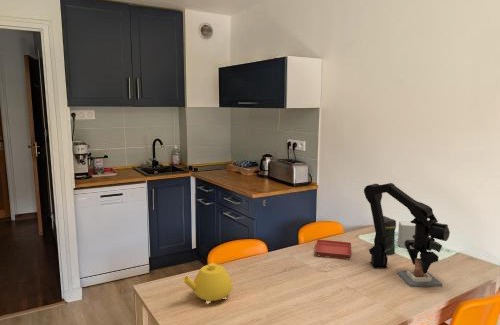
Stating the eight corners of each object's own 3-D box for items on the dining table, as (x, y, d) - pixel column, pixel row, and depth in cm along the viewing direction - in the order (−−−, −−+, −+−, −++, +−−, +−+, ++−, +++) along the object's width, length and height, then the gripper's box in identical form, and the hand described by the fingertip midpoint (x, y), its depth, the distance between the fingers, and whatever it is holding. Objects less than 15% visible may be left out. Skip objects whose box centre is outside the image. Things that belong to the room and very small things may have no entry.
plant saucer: (350, 247, 206) (351, 242, 206) (351, 261, 189) (351, 254, 189) (316, 245, 211) (317, 239, 210) (314, 257, 193) (314, 251, 193)
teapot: (190, 313, 141) (189, 278, 139) (177, 295, 154) (176, 263, 152) (238, 300, 150) (238, 267, 148) (222, 284, 164) (222, 253, 162)
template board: (410, 286, 161) (410, 281, 161) (396, 273, 174) (397, 268, 174) (442, 286, 162) (442, 280, 162) (426, 272, 175) (427, 267, 175)
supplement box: (414, 248, 205) (415, 225, 203) (399, 247, 206) (401, 225, 204) (411, 243, 212) (412, 221, 210) (397, 242, 213) (398, 220, 211)
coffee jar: (397, 253, 197) (399, 219, 194) (385, 256, 194) (387, 220, 191) (384, 247, 206) (386, 214, 203) (372, 249, 203) (374, 215, 200)
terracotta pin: (416, 279, 166) (417, 262, 165) (412, 275, 170) (413, 258, 169) (425, 279, 166) (426, 261, 165) (421, 275, 170) (422, 258, 169)
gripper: (452, 242, 156) (449, 278, 159) (428, 227, 175) (426, 259, 177) (425, 242, 156) (423, 278, 158) (405, 227, 174) (403, 260, 177)
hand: (419, 268), depth 167 cm, fingers open, 9 cm apart
